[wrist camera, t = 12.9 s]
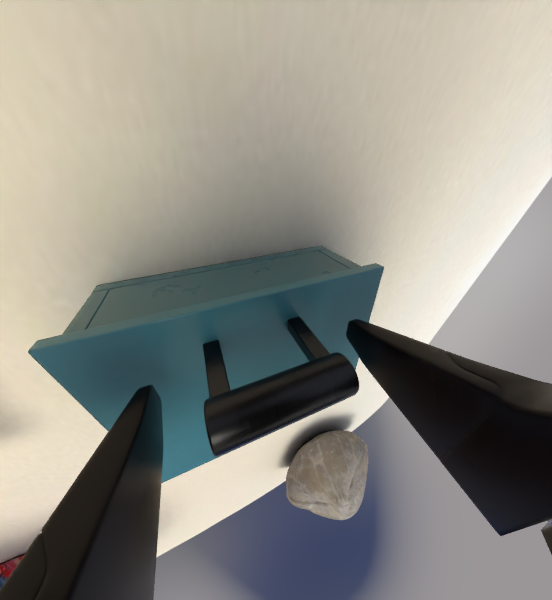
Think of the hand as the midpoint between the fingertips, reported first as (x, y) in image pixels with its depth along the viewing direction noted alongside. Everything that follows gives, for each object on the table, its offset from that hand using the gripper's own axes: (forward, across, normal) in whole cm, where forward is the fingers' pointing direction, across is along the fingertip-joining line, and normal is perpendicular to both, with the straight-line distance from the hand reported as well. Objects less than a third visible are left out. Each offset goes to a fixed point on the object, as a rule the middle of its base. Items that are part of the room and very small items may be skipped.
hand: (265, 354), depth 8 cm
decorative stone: (+7, -11, +39) cm, 41 cm away
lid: (+2, 0, +4) cm, 5 cm away
